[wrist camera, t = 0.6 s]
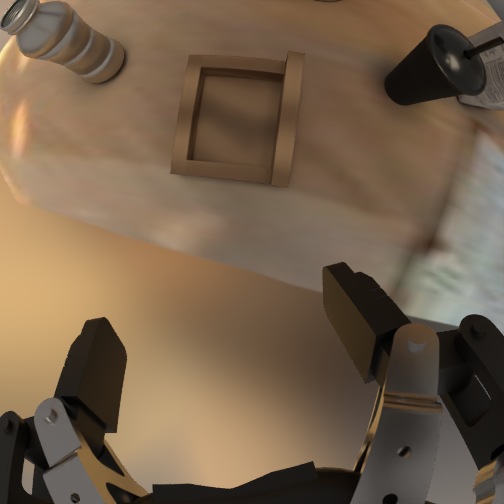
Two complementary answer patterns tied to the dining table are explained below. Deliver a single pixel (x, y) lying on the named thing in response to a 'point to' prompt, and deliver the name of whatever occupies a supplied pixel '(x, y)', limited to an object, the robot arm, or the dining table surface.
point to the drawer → (238, 118)
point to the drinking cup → (440, 68)
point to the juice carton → (490, 70)
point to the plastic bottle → (62, 39)
